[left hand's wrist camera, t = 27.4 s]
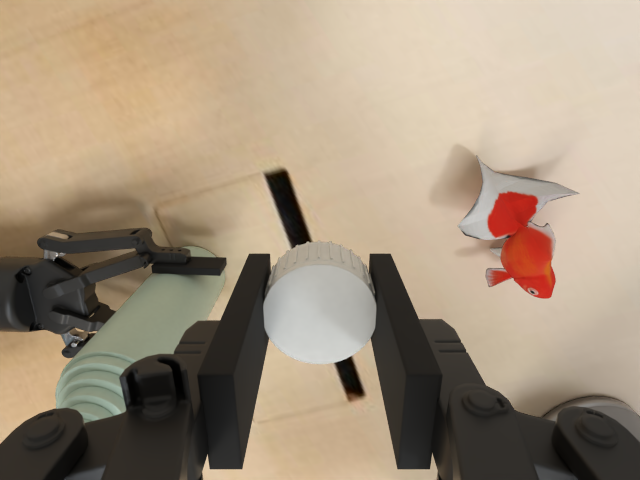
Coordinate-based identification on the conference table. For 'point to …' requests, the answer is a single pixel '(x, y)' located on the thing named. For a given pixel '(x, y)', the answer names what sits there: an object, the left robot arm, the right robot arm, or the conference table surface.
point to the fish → (516, 228)
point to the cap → (319, 303)
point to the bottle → (136, 338)
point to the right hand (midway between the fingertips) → (224, 301)
